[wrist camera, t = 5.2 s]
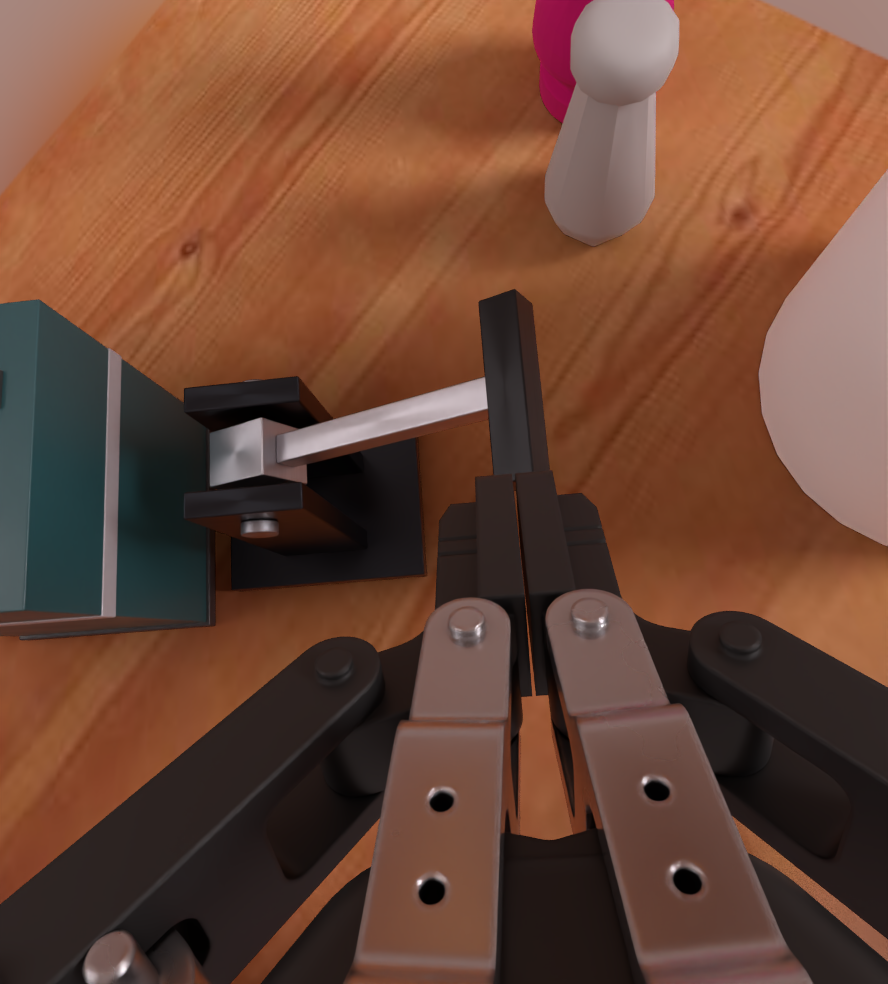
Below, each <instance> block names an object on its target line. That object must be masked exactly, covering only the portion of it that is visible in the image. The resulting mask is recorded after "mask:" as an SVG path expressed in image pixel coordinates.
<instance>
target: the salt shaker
mask: <svg viewBox="0 0 888 984" xmlns="http://www.w3.org/2000/svg"><path fill="white" fill-rule="evenodd" d="M678 49H679V19H678V17H677V16H676V14H675V13H674V11H673V9H672V8H671V6H670V4H669V3H668V2H667V1H665V0H593V1H591V2H590V3H589V4H587V5H586V6H585V8H584V9H583V11H582V13H581V14H580V16H579V18H578V19H577V21H576V23H575V25H574V28H573V32H572V35H571V60H570V69H571V72H572V75H573V76H574V78H575V80H576V82H577V83H576V86H575V89H574V92H573V95H572V98H571V101H570V103H569V106H568V109H567V112H566V115H565V118H564V121H563V124H562V127H561V130H560V133H559V136H558V139H557V142H556V145H555V148H554V151H553V154H552V157H551V160H550V163H549V166H548V169H547V172H546V175H545V203H546V205H547V207H548V209H549V211H550V213H551V215H552V217H553V219H554V221H555V223H556V224H557V226H558V227H559V228H560V230H561V231H562V232H563V233H564V234H565V235H567V236H570V237H572V238H574V239H577V240H579V241H581V242H583V243H586V244H588V245H590V246H593V247H594V246H596V245H599V244H601V243H603V242H606V241H608V240H611V239H613V238H616V237H619V236H621V235H623V234H624V233H626V232H627V231H629V230H630V229H632V228H633V227H635V226H636V225H638V224H639V223H641V221H642V220H643V218H644V216H645V214H646V213H647V211H648V209H649V207H650V205H651V203H652V201H653V199H654V197H655V137H656V92H657V91H658V90H659V89H660V88H661V87H662V86H663V85H664V83H665V81H666V79H667V78H668V76H669V74H670V72H671V70H672V68H673V66H674V64H675V61H676V59H677V56H678Z"/></svg>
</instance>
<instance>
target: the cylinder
mask: <svg viewBox="0 0 888 984" xmlns="http://www.w3.org/2000/svg"><path fill="white" fill-rule="evenodd" d="M759 385H760V396H761V408H762V416H763V418H764V421H765V424H766V426H767V429H768V431H769V434H770V437H771V439H772V442H773V445H774V447H775V450H776V453H777V455H778V457H779V458H780V459H781V461H782V462H783V464H784V465H785V466H786V468H787V469H788V471H789V472H790V473H791V475H792V476H793V478H794V479H795V480H796V482H797V483H798V485H799V486H800V487H801V489H802V490H803V492H804V493H805V494H807V495H808V496H809V497H810V498H811V499H813V500H814V501H815V502H816V503H817V504H818V505H820V506H821V507H822V508H823V509H824V510H825V511H827V512H828V513H829V514H830V515H831V516H833V517H834V518H835V519H836V520H837V521H838V522H840V523H841V524H843V525H845V526H847V527H849V528H851V529H853V530H855V531H857V532H859V533H861V534H863V535H865V536H867V537H869V538H871V539H873V540H874V541H876V542H878V543H880V544H882V545H884V546H888V169H887V171H886V172H885V173H884V175H883V176H882V177H881V178H880V180H879V181H878V182H877V183H876V185H875V186H874V187H873V188H872V190H871V191H870V192H869V194H868V195H867V196H866V197H865V199H864V200H863V201H862V202H861V204H860V205H859V206H858V207H857V209H856V210H855V211H854V213H853V214H852V215H851V216H850V218H849V219H848V220H847V221H846V223H845V224H844V225H843V226H842V228H841V229H840V230H839V232H838V233H837V234H836V235H835V237H834V238H833V239H832V240H831V242H830V243H829V244H828V245H827V247H826V248H825V249H824V251H823V252H822V253H821V254H820V256H819V257H818V258H817V259H816V261H815V262H814V263H813V264H812V266H811V267H810V268H809V270H808V271H807V272H806V273H805V275H804V276H803V277H802V278H801V280H800V281H799V282H798V283H797V285H796V286H795V287H794V289H793V290H792V291H791V292H790V294H789V295H788V296H787V297H786V299H785V301H784V302H783V304H782V306H781V308H780V310H779V312H778V314H777V315H776V317H775V319H774V321H773V323H772V325H771V326H770V328H769V330H768V332H767V334H766V339H765V344H764V349H763V354H762V359H761V363H760V368H759Z"/></svg>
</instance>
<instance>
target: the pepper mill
mask: <svg viewBox="0 0 888 984" xmlns="http://www.w3.org/2000/svg"><path fill="white" fill-rule="evenodd" d="M591 1H593V0H536V5H535V12H534V19H533V28H532V33H533V42H534V47H535V50H536V53H537V56H538V58H539V60H540V61H541V62H540V80H539V88H540V95H541V98H542V101H543V103H544V105H545V107H546V108H547V110H548V111H549V112H550V113H551V115H552V116H554V117H555V118H556V119H557V120H559V121H560V122H561V123H563V121H564V118H565V115H566V112H567V109H568V106H569V103H570V101H571V98H572V95H573V92H574V89H575V86H576V83H577V82H576V80H575V78H574V76H573V75H572V72H571V69H570V60H571V35H572V32H573V28H574V25H575V23H576V21H577V19H578V18H579V16H580V14H581V13H582V11H583V9H584V8H585V6H586V5H587V4H589V3H590V2H591ZM665 1H667V2H668V3H669V4H670V6H671V8H672V9H673V11H674V0H665Z"/></svg>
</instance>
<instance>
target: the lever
mask: <svg viewBox="0 0 888 984" xmlns="http://www.w3.org/2000/svg"><path fill="white" fill-rule="evenodd" d="M478 303H479V315H480V326H481V338H482V349H483V360H484V372H485V377H481V378H478V379H474V380H471V381H467V382H464V383H460V384H457V385H453V386H449V387H446V388H442V389H439V390H435V391H432V392H428V393H425V394H421V395H418V396H414V397H410V398H407V399H403V400H400V401H396V402H393V403H389V404H386V405H382V406H379V407H375V408H371V409H368V410H364V411H361V412H357V413H354V414H350V415H347V416H343V417H340V418H336V419H332V420H329V421H325V422H322V423H318V424H315V425H311V426H308V427H304V428H301V429H298V428H295V427H292V426H289V425H285V424H282V423H279V422H276V421H272V420H269V419H266V418H263V417H260V418H257V419H254V420H250V421H247V422H244V423H240V424H237V425H234V426H230V427H227V428H224V429H221V430H217V431H214V432H211V433H210V488H214V489H229V488H240V487H251V486H261V485H272V484H283V483H294V482H302V483H303V484H305V485H306V484H307V464H310V463H314V462H318V461H322V460H326V459H330V458H334V457H338V456H342V455H347V454H351V453H355V452H359V451H363V450H367V449H371V448H375V447H379V446H383V445H387V444H391V443H395V442H399V441H403V440H407V439H411V438H415V437H419V436H423V435H427V434H431V433H435V432H439V431H443V430H447V429H451V428H456V427H460V426H464V425H468V424H472V423H476V422H480V421H484V420H488V419H489V429H490V440H491V451H492V463H493V474H494V475H503V474H512V481H513V490H514V491H516V483H515V473H525V472H536V471H547V470H550V468H549V459H548V449H547V440H546V430H545V420H544V411H543V401H542V392H541V382H540V373H539V363H538V354H537V344H536V334H535V325H534V315H533V306H532V303H531V302H529V301H528V300H527V299H526V298H525V297H524V296H522V295H521V294H520V293H519V292H518V291H517V290H515V289H513V290H510V291H507V292H504V293H501V294H498V295H496V296H493V297H490V298H487V299H484V300H481V301H479V302H478Z"/></svg>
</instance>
